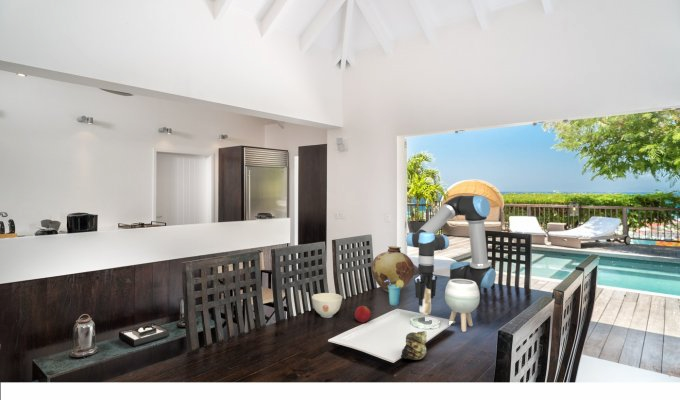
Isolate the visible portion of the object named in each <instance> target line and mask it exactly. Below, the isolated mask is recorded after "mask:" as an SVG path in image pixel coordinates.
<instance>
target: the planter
mask: <svg viewBox="0 0 680 400" xmlns="http://www.w3.org/2000/svg"><path fill="white" fill-rule="evenodd" d="M444 290H445V291H444V300H445V303H446V304H447V306H448V307H449V309H451V311H450V315H449V319H448V322H449V321H454V322H455V319H456V317H457V314H458V313H459V314H460V326H461V327H460V329H461V332H463V333H466V332H467V326H468V327H470V328H471V327H473V320H472V314H471V313H472V312H474V311H475V310H476V309H477V308H478V306H479V305H480V300H481V299H480V298H481V294H480V289H479V287H478V286H477V284H476V282H474V281H471V280H466V279H452V280H450V279H449V280H448V281H447V283H446V286H445V289H444Z"/></svg>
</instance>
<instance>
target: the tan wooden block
mask: <svg viewBox="0 0 680 400" xmlns="http://www.w3.org/2000/svg"><path fill="white" fill-rule="evenodd" d="M423 299H425V311H424V313H422V312H420V311H419V314H420V315H423V316H427V315H431V312H430V302H431V290H430V289H427V288H426V287H425V292H424V298H423Z"/></svg>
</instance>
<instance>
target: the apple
mask: <svg viewBox="0 0 680 400" xmlns="http://www.w3.org/2000/svg"><path fill="white" fill-rule="evenodd" d="M371 316H372V311H371V310H370V308H368V307H367V306H366V305H360V306H358V307H356V309H355V311H354V318H355V319H356V320H355V321H357V322H359V323H366V322H368V321H369V320H370V318H371Z"/></svg>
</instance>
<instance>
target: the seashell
mask: <svg viewBox="0 0 680 400" xmlns="http://www.w3.org/2000/svg"><path fill="white" fill-rule="evenodd" d="M426 344H427V331H425V330H424V331H423V330H422V331H418V332H413V331H412V332H409V333H407V334H406V335H405V346H404V347H403V348H402V350H401V355H400V357H401V358H402V359H406V360H414V361H418V360H422V359H423V358H424V357H425V356H426V354H427V347H426Z"/></svg>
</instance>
